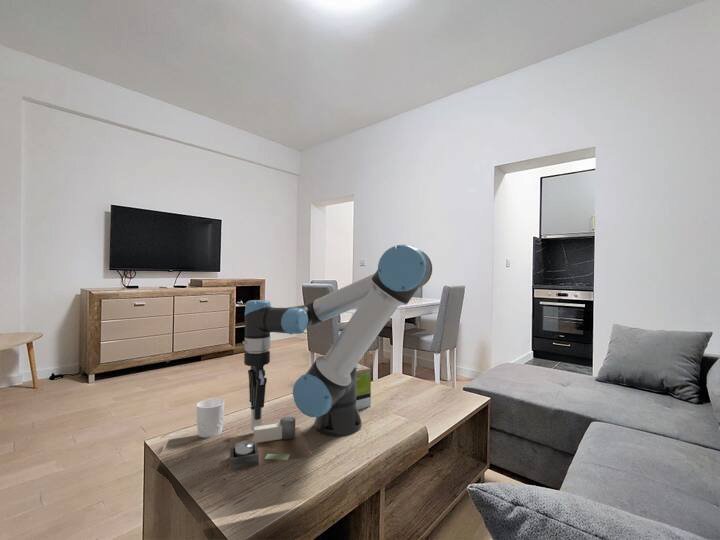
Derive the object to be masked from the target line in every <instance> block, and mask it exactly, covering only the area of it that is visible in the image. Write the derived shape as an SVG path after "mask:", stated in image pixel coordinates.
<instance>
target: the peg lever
mask: <svg viewBox="0 0 720 540" xmlns="http://www.w3.org/2000/svg"><path fill="white" fill-rule="evenodd" d="M295 428H296V418H295V416H284V417H281V418H280V420H279V422H278V423H272V424H264V425H261V426H256V427H254V431H253V434H254V443H259V442H265V441H271V440H278V439H292V438H294V437H295Z"/></svg>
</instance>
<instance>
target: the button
mask: <svg viewBox="0 0 720 540" xmlns="http://www.w3.org/2000/svg"><path fill="white" fill-rule="evenodd" d="M251 454H253V442H252V441H241V442H239V443H237V444H236V445H235V457H240V456H246V455H251Z"/></svg>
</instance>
